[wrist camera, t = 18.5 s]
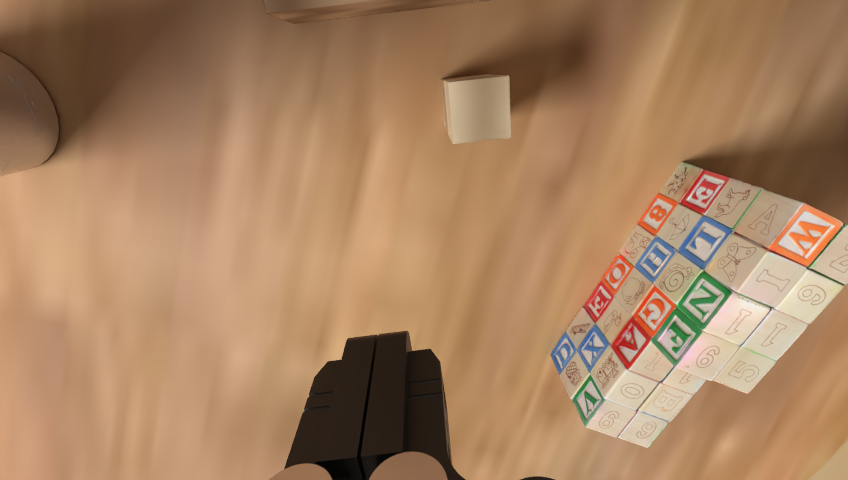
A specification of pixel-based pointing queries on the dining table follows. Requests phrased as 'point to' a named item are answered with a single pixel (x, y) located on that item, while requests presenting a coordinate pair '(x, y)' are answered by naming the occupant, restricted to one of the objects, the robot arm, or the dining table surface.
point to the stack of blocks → (698, 301)
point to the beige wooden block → (476, 107)
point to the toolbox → (345, 8)
